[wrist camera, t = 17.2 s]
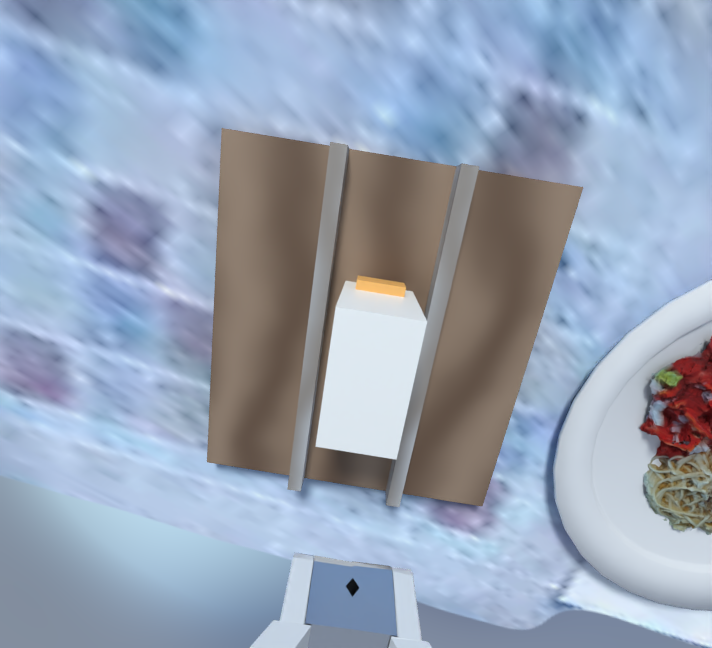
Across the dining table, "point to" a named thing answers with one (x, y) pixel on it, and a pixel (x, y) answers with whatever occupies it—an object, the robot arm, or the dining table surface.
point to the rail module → (370, 367)
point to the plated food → (646, 458)
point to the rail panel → (382, 261)
